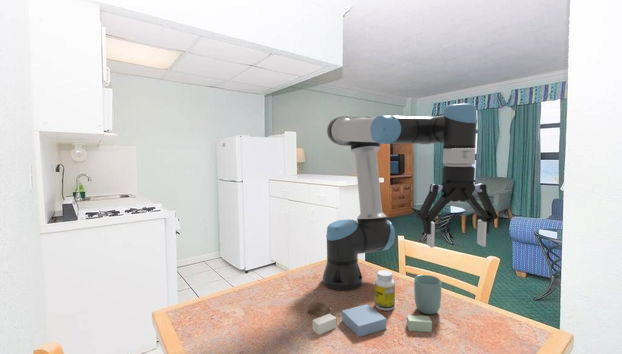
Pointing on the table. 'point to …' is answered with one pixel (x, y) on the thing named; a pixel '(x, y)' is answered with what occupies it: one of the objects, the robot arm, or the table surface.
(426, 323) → the sage brick
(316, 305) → the walnut brick
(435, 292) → the cup
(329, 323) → the cream brick
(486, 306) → the table surface
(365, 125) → the robot arm
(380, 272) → the pill bottle
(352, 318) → the slab
